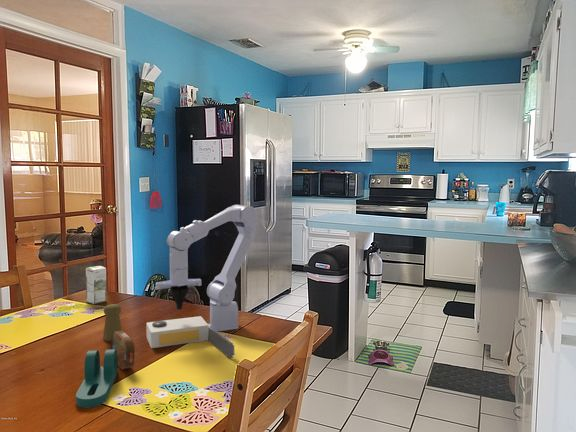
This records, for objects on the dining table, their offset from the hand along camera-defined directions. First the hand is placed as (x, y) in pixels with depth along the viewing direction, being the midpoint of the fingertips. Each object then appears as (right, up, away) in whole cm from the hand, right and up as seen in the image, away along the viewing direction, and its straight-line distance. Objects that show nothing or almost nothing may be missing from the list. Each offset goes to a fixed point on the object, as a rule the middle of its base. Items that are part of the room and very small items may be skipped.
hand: (179, 308), depth 150 cm
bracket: (-12, -13, -36) cm, 40 cm away
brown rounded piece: (-11, -12, -21) cm, 26 cm away
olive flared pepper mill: (-21, -9, -1) cm, 23 cm away
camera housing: (0, -10, -2) cm, 10 cm away
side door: (+15, -10, -10) cm, 21 cm away
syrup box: (-43, -5, +39) cm, 59 cm away
